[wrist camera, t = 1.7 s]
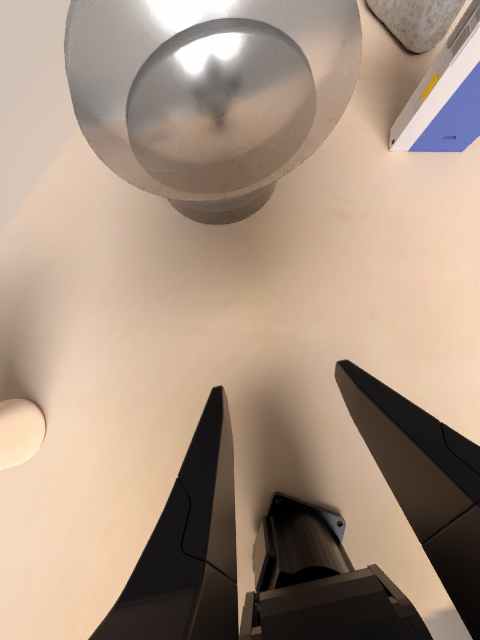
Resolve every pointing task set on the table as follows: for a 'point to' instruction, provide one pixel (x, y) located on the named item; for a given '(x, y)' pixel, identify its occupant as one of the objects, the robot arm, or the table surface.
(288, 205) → the table surface
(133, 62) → the cooker lid
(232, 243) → the table surface
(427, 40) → the decorative stone
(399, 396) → the robot arm
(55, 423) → the table surface
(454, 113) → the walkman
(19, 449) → the beer glass
